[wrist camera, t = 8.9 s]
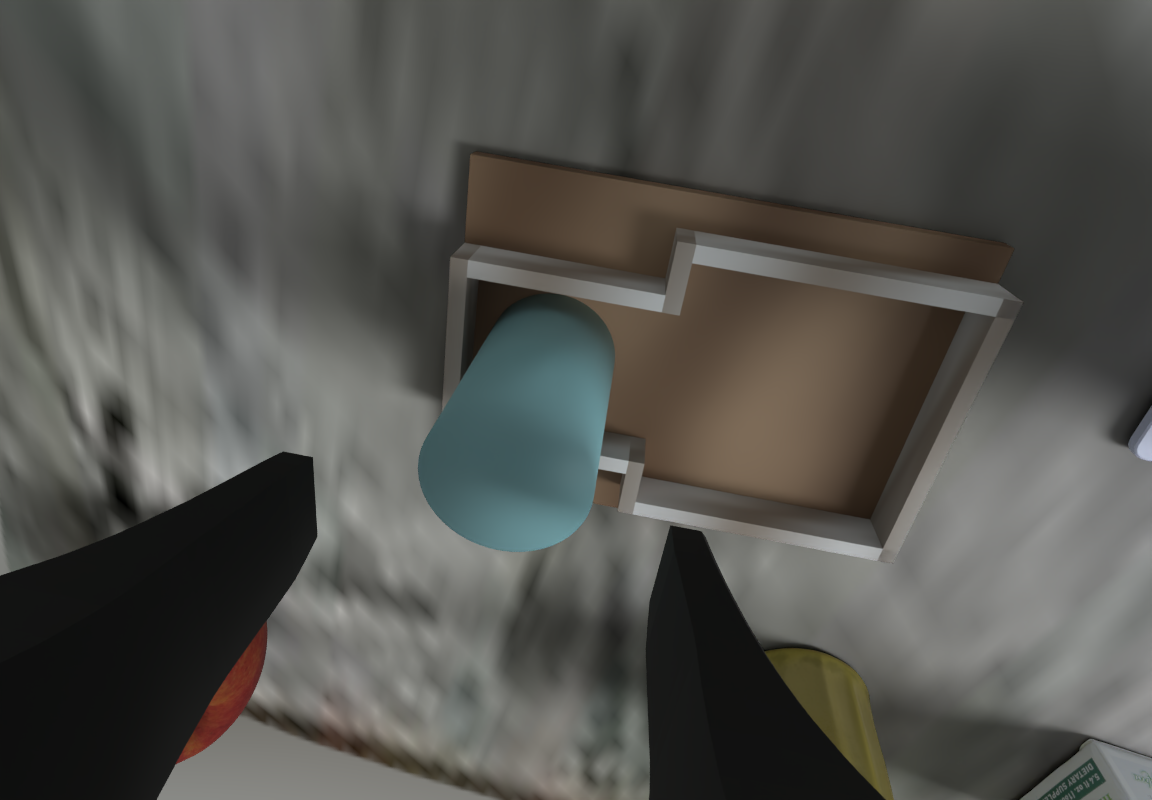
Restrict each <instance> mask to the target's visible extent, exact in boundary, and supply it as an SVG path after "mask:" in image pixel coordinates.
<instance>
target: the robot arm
mask: <svg viewBox="0 0 1152 800" xmlns="http://www.w3.org/2000/svg"><path fill="white" fill-rule="evenodd" d="M1128 446H1129V449H1130V451H1131V452H1132V453H1133V454H1134V455H1136V456H1137V457H1138V458H1140V459H1143V460H1147V461H1152V406H1151V407H1150V409H1149V410H1148V412H1147V413H1146V415H1145V417H1144V418H1143V420H1142V421H1141V423H1140V424H1139V426H1138V427H1137V429H1136V430H1135V432H1134V433H1133V435H1132V436H1131V438H1130V440H1129V443H1128ZM316 538H317V521H316V504H315V487H314V470H313V457H309V456H303V455H298V454H293V453H288V452H282V453H279V454H277V455H275V456H273V457H271V458H269V459H267V460H265V461H263V462H261V463H259V464H257V465H255V466H254V467H252V468H250V469H248V470H246V471H244V472H242V473H240V474H238V475H237V476H235V477H233V478H231V479H229V480H227V481H225V482H223V483H221V484H220V485H218V486H216V487H214V488H212V489H210V490H208V491H206V492H204V493H202V494H200V495H198V496H196V497H194V498H193V499H191V500H189V501H187V502H185V503H183V504H180V505H178V506H176V507H174V508H172V509H170V510H168V511H166V512H164V513H161V514H159V515H157V516H155V517H153V518H151V519H149V520H147V521H145V522H142V523H140V524H138V525H136V526H134V527H132V528H129V529H127V530H125V531H123V532H120V533H118V534H115V535H113V536H111V537H108V538H106V539H103V540H101V541H98V542H96V543H93V544H91V545H88V546H85V547H83V548H80V549H78V550H75V551H72V552H70V553H67V554H64V555H62V556H59V557H56V558H53V559H50V560H47V561H44V562H41V563H38V564H35V565H32V566H29V567H25V568H22V569H19V570H16V571H13V572H10V573H7V574H4V575H1V576H0V800H157V797H158V796H159V794H160V792H161V790H162V788H163V786H164V785H165V783H166V781H167V779H168V777H169V775H170V774H171V772H172V770H173V768H174V766H175V764H176V762H177V761H178V759H179V757H180V755H181V753H182V751H183V750H184V748H185V746H186V744H187V742H188V741H189V739H190V737H191V735H192V734H193V732H194V730H195V728H196V727H197V725H198V723H199V721H200V720H201V718H202V716H203V714H204V713H205V711H206V709H207V707H208V706H209V704H210V702H211V700H212V699H213V697H214V695H215V694H216V692H217V691H218V689H219V688H220V686H221V685H222V683H223V681H224V680H225V678H226V677H227V675H228V674H229V673H230V671H231V670H232V668H233V667H234V665H235V664H236V663H237V661H238V660H239V658H240V657H241V656H242V654H243V653H244V651H245V650H246V649H247V647H248V646H249V644H250V643H251V642H252V640H253V639H254V637H255V636H256V635H257V633H258V632H259V630H260V629H261V628H262V626H263V625H264V623H265V622H266V621H267V619H268V618H269V616H270V615H271V614H272V612H273V611H274V609H275V608H276V606H277V605H278V603H279V602H280V601H281V599H282V598H283V596H284V595H285V593H286V592H287V591H288V589H289V588H290V586H291V585H292V583H293V582H294V580H295V579H296V577H297V575H298V573H299V571H300V569H301V567H302V566H303V564H304V562H305V560H306V558H307V556H308V554H309V552H310V550H311V548H312V546H313V544H314V542H315V540H316ZM646 669H647V697H648V722H649V748H650V794H649V800H886V799H885V798H884V797H883V796H882V795H881V794H880V793H879V792H878V791H877V790H876V789H875V788H874V787H873V786H872V785H871V784H870V783H869V782H868V781H867V780H866V779H865V778H864V777H863V776H862V775H861V774H860V773H859V772H858V771H857V770H856V768H855V767H854V766H853V765H852V764H851V763H850V762H849V761H848V760H847V759H846V758H845V757H844V755H843V754H842V753H841V752H840V751H839V750H838V748H837V747H836V746H835V745H834V744H833V743H832V741H831V740H830V739H829V738H828V737H827V736H826V734H825V733H824V732H823V731H822V730H821V729H820V727H819V726H818V725H817V724H816V723H815V722H814V721H813V719H812V718H811V717H810V715H809V714H808V713H807V712H806V710H805V709H804V708H803V706H802V705H801V704H800V703H799V701H798V700H797V699H796V697H795V696H794V694H793V693H792V692H791V690H790V689H789V687H788V686H787V685H786V683H785V682H784V681H783V679H782V678H781V676H780V675H779V673H778V672H777V670H776V669H775V667H774V666H773V664H772V663H771V661H770V660H769V658H768V657H767V655H766V653H765V652H764V650H763V648H762V647H761V645H760V644H759V642H758V640H757V639H756V637H755V635H754V634H753V632H752V630H751V629H750V627H749V625H748V623H747V622H746V620H745V618H744V616H743V614H742V612H741V611H740V609H739V607H738V605H737V603H736V601H735V599H734V598H733V596H732V594H731V592H730V590H729V588H728V586H727V584H726V582H725V580H724V578H723V576H722V574H721V571H720V569H719V567H718V565H717V563H716V561H715V558H714V556H713V554H712V552H711V549H710V547H709V545H708V542H707V540H706V537H705V536H704V534H703V533H702V531H697V530H692V529H687V528H681V527H676V526H671V525H670V529H669V533H668V536H667V540H666V544H665V547H664V551H663V554H662V558H661V562H660V565H659V569H658V573H657V576H656V580H655V584H654V587H653V591H652V595H651V598H650V604H649V615H648V627H647V641H646Z"/></svg>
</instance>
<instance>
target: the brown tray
mask: <svg viewBox="0 0 1152 800" xmlns="http://www.w3.org/2000/svg"><path fill="white" fill-rule="evenodd" d="M1013 251H1014V248H1013V247H1011V246H1009V245H1007V244H1006V243H1002V242H996V241H991V240H985V239H979V238H973V237H968V236H962V235H956V234H950V233H945V232H939V231H933V230H927V229H921V228H916V227H910V226H904V225H898V224H893V223H887V222H881V221H875V220H870V219H864V218H858V217H852V216H846V215H841V214H835V213H829V212H823V211H818V210H812V209H806V208H800V207H795V206H789V205H783V204H777V203H771V202H766V201H760V200H754V199H748V198H743V197H737V196H731V195H725V194H719V193H714V192H708V191H702V190H696V189H691V188H685V187H679V186H673V185H668V184H662V183H656V182H650V181H644V180H639V179H633V178H627V177H621V176H616V175H610V174H604V173H598V172H593V171H587V170H581V169H575V168H569V167H564V166H558V165H552V164H546V163H541V162H535V161H529V160H523V159H518V158H512V157H506V156H500V155H494V154H489V153H483V152H477V151H475V152H473V153H472V154H470V167H469V183H468V198H467V214H466V229H465V243H464V244H463V245H462V246H461V247H460V248H459V249H458V250H457V251H456V252H455V253H454V254H453V255H452V256H451V257H450V271H449V290H448V308H447V327H446V345H445V364H444V382H443V401H442V411H443V409H444V408H445V406H446V404H447V403H448V401H449V399H450V398H451V396H452V394H453V393H454V391H455V389H456V388H457V386H458V385H459V383H460V381H461V380H462V378H463V376H464V375H465V373H466V371H467V370H468V368H469V366H470V365H471V363H472V361H473V360H474V358H475V356H476V355H477V353H478V351H479V350H480V348H481V346H482V345H483V343H484V341H485V340H486V338H487V337H488V335H489V333H490V332H491V330H492V328H493V327H494V325H495V323H496V322H497V320H498V319H499V317H500V316H501V314H502V313H503V312H504V311H505V310H506V309H507V308H508V307H510V306H511V305H512V304H514V303H515V302H517V301H519V300H521V299H523V298H525V297H529V296H532V295H537V294H548V293H551V294H560V295H564V296H568V297H571V298H574V299H576V300H578V301H580V302H582V303H584V304H585V305H587V306H588V307H590V308H591V309H592V310H593V311H595V312H596V313H597V314H598V315H599V316H600V318H601V319H602V320H603V321H604V323H605V324H606V326H607V328H608V329H609V331H610V333H611V336H612V339H613V343H614V348H615V363H614V370H613V377H612V383H611V389H610V396H609V402H608V409H607V415H606V422H605V428H604V435H603V441H602V448H601V454H600V461H599V467H598V474H597V480H596V487H595V493H594V499H593V503H595V504H600V505H605V506H611V507H616V508H618V512H624V513H629V514H634V515H639V516H645V517H650V518H655V519H661V520H666V521H671V522H676V523H682V524H687V525H692V526H697V527H703V528H708V529H713V530H718V531H724V532H729V533H734V534H739V535H745V536H750V537H755V538H760V539H766V540H771V541H776V542H781V543H787V544H792V545H797V546H802V547H808V548H813V549H818V550H823V551H829V552H834V553H839V554H844V555H850V556H855V557H860V558H865V559H871V560H876V561H881V562H886V563H892V564H893V562H894V560H895V558H896V556H897V554H898V552H899V550H900V548H901V546H902V544H903V542H904V540H905V538H906V536H907V534H908V532H909V530H910V528H911V526H912V524H913V522H914V520H915V518H916V516H917V514H918V512H919V510H920V508H921V506H922V504H923V502H924V500H925V498H926V496H927V494H928V492H929V490H930V488H931V486H932V484H933V482H934V480H935V478H936V476H937V474H938V472H939V470H940V468H941V466H942V464H943V462H944V460H945V458H946V456H947V454H948V452H949V450H950V448H951V446H952V444H953V442H954V440H955V438H956V436H957V434H958V432H959V430H960V428H961V426H962V424H963V422H964V420H965V419H966V417H967V415H968V413H969V411H970V409H971V407H972V405H973V403H974V401H975V399H976V397H977V395H978V393H979V391H980V389H981V387H982V385H983V383H984V381H985V379H986V377H987V375H988V373H989V371H990V369H991V367H992V365H993V363H994V361H995V359H996V357H997V355H998V353H999V351H1000V349H1001V347H1002V345H1003V343H1004V341H1005V339H1006V337H1007V335H1008V333H1009V331H1010V329H1011V327H1012V325H1013V323H1014V321H1015V319H1016V317H1017V315H1018V313H1019V311H1020V309H1021V307H1022V305H1023V303H1024V302H1023V301H1021V300H1020V299H1018V298H1017V297H1016V296H1014V295H1013V294H1011V293H1010V292H1009V291H1007V290H1006V289H1004V288H1003V287H1002V286H1000V285H999V284H998V283H999V281H1000V279H1001V276H1002V274H1003V272H1004V270H1005V268H1006V266H1007V264H1008V262H1009V260H1010V258H1011V255H1012V253H1013Z"/></svg>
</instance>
